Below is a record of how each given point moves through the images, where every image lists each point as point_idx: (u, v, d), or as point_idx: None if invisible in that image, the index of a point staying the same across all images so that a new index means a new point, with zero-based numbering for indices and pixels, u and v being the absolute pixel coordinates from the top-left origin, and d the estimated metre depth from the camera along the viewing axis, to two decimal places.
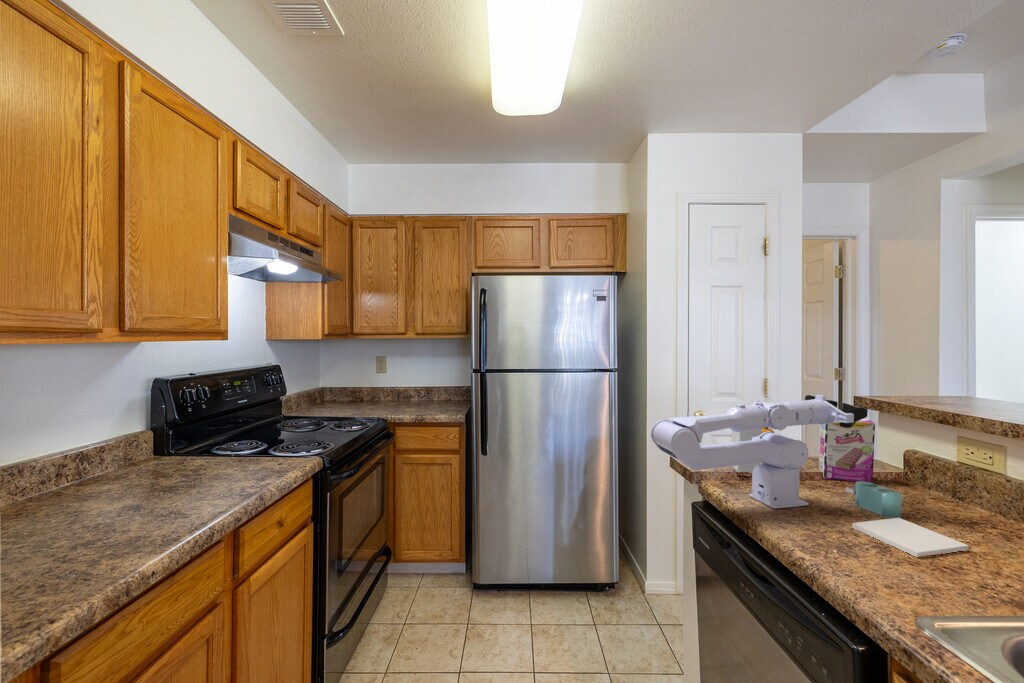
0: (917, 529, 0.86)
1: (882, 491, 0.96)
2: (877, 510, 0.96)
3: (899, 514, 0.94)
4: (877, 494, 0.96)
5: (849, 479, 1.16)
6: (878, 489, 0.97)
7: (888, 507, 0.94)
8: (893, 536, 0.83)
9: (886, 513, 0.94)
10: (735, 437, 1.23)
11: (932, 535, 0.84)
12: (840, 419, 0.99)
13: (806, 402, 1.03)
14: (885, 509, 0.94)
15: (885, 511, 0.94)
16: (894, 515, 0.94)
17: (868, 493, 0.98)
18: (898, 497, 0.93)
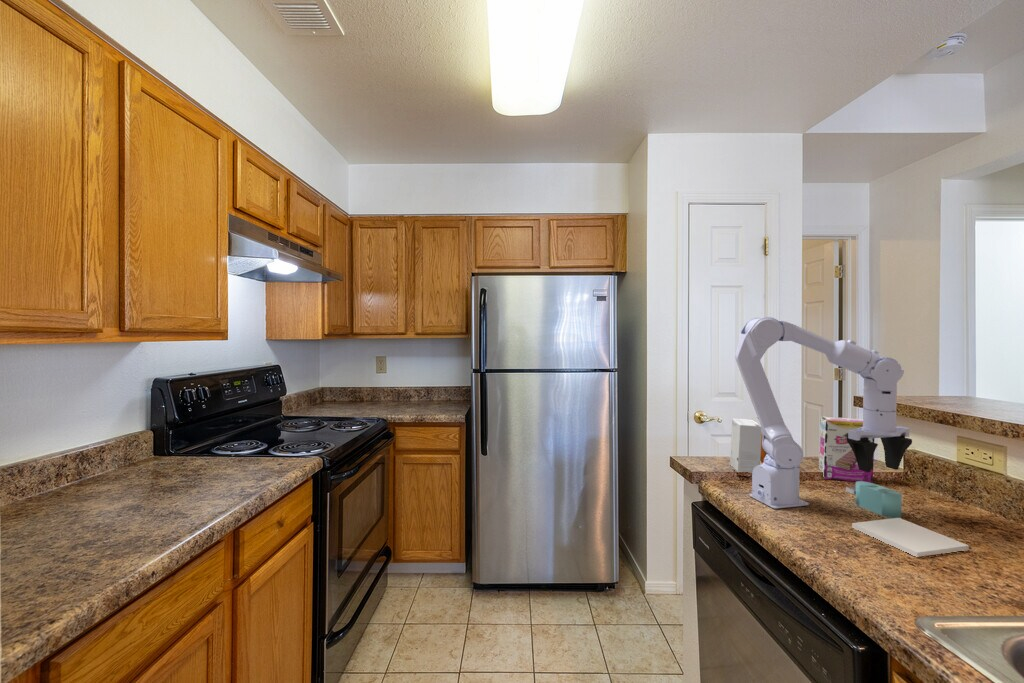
0: (917, 529, 0.86)
1: (882, 491, 0.96)
2: (877, 510, 0.96)
3: (899, 514, 0.94)
4: (877, 494, 0.96)
5: (849, 479, 1.16)
6: (878, 489, 0.97)
7: (888, 507, 0.94)
8: (893, 536, 0.83)
9: (886, 513, 0.94)
10: (734, 437, 1.23)
11: (932, 535, 0.84)
12: None
13: (888, 412, 0.94)
14: (885, 509, 0.94)
15: (885, 511, 0.94)
16: (894, 515, 0.94)
17: (868, 493, 0.98)
18: (898, 497, 0.93)
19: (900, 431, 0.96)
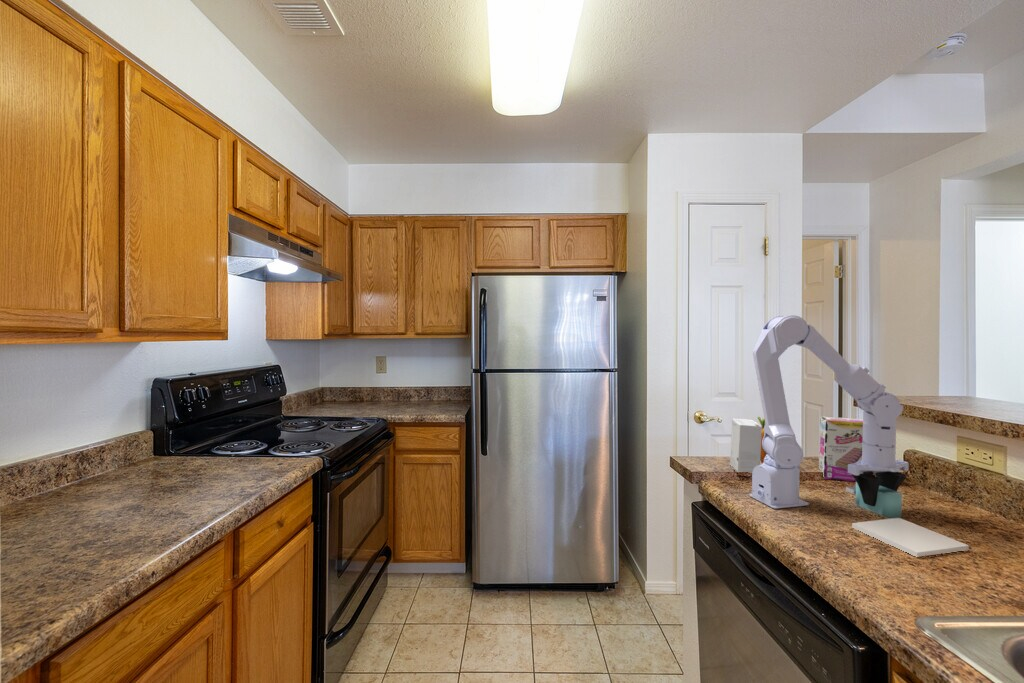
0: (917, 529, 0.86)
1: (882, 491, 0.96)
2: (877, 510, 0.96)
3: (899, 514, 0.94)
4: (877, 494, 0.96)
5: (849, 479, 1.16)
6: (878, 489, 0.97)
7: (888, 507, 0.94)
8: (893, 536, 0.83)
9: (886, 513, 0.94)
10: (734, 437, 1.23)
11: (932, 535, 0.84)
12: None
13: (887, 447, 0.95)
14: (885, 509, 0.94)
15: (885, 511, 0.94)
16: (894, 515, 0.94)
17: None
18: (898, 497, 0.93)
19: (899, 466, 0.96)
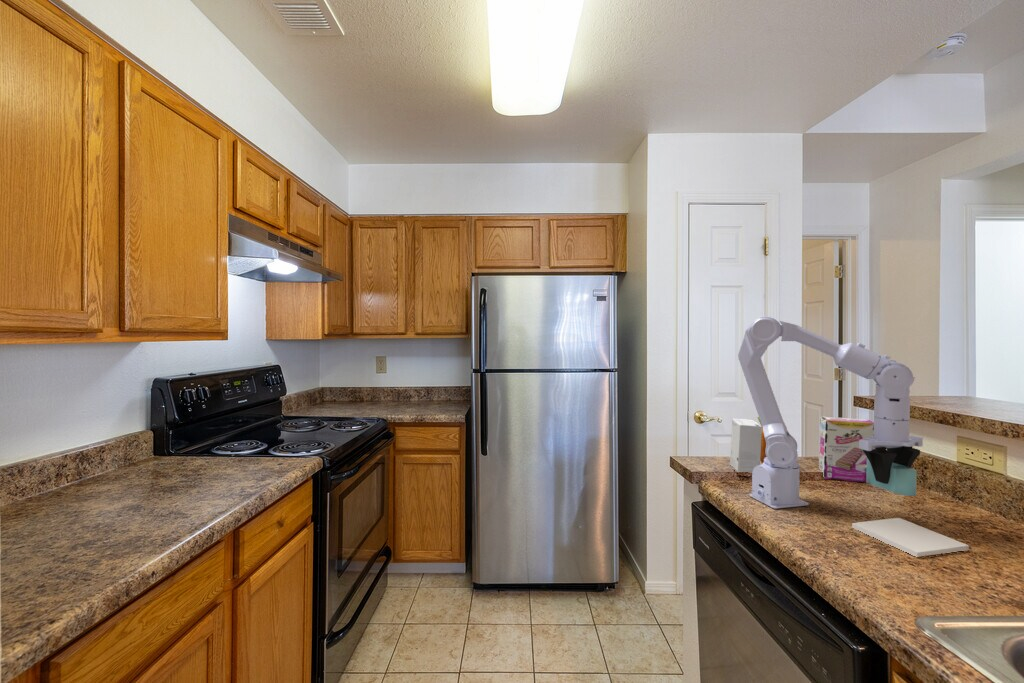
0: (917, 529, 0.86)
1: (895, 467, 0.90)
2: (890, 488, 0.90)
3: (914, 491, 0.88)
4: (890, 471, 0.90)
5: (849, 479, 1.16)
6: (891, 466, 0.91)
7: (902, 484, 0.88)
8: (893, 536, 0.83)
9: (900, 490, 0.89)
10: (734, 437, 1.23)
11: (932, 535, 0.84)
12: None
13: (901, 420, 0.89)
14: (899, 486, 0.89)
15: (899, 488, 0.89)
16: (909, 492, 0.88)
17: None
18: (913, 473, 0.88)
19: (913, 441, 0.91)
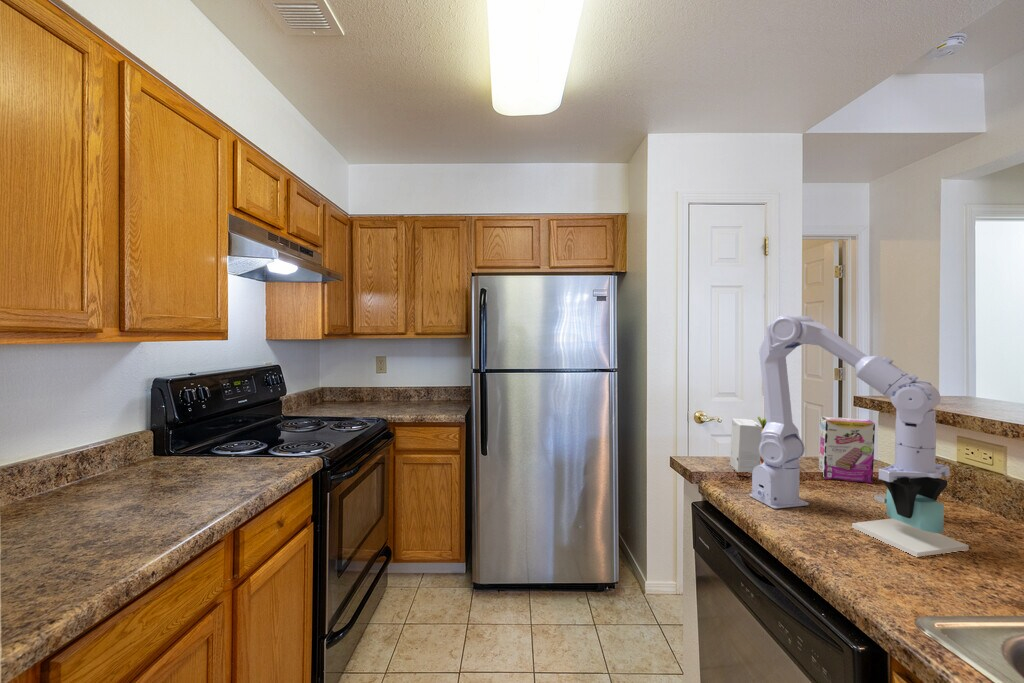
0: (917, 529, 0.86)
1: (919, 501, 0.81)
2: (914, 523, 0.81)
3: (941, 528, 0.79)
4: (914, 504, 0.81)
5: (849, 479, 1.16)
6: None
7: (928, 519, 0.80)
8: (893, 536, 0.83)
9: (925, 526, 0.80)
10: (734, 437, 1.23)
11: (932, 535, 0.84)
12: None
13: (926, 449, 0.80)
14: (924, 522, 0.80)
15: (924, 524, 0.80)
16: (935, 529, 0.79)
17: None
18: (940, 508, 0.79)
19: (940, 471, 0.82)
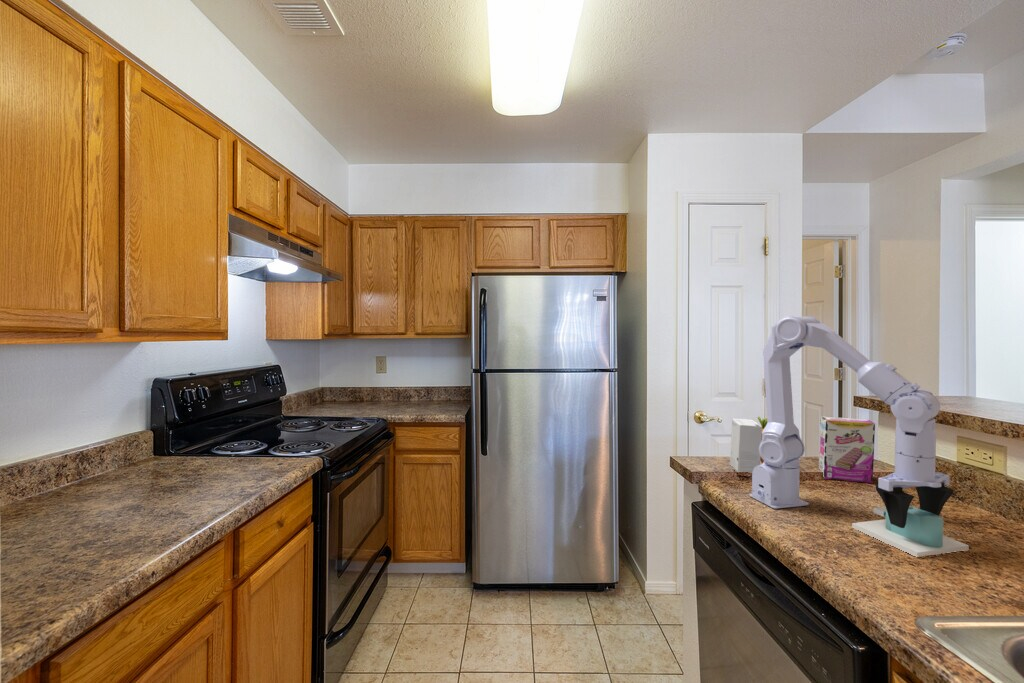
0: None
1: (919, 515, 0.81)
2: (913, 537, 0.82)
3: (940, 542, 0.79)
4: (913, 518, 0.82)
5: (849, 479, 1.16)
6: (914, 512, 0.83)
7: (927, 534, 0.80)
8: (893, 536, 0.83)
9: (925, 541, 0.80)
10: (734, 437, 1.23)
11: None
12: None
13: (926, 458, 0.80)
14: (924, 536, 0.80)
15: (924, 539, 0.80)
16: (935, 544, 0.79)
17: None
18: (940, 522, 0.79)
19: (939, 480, 0.82)
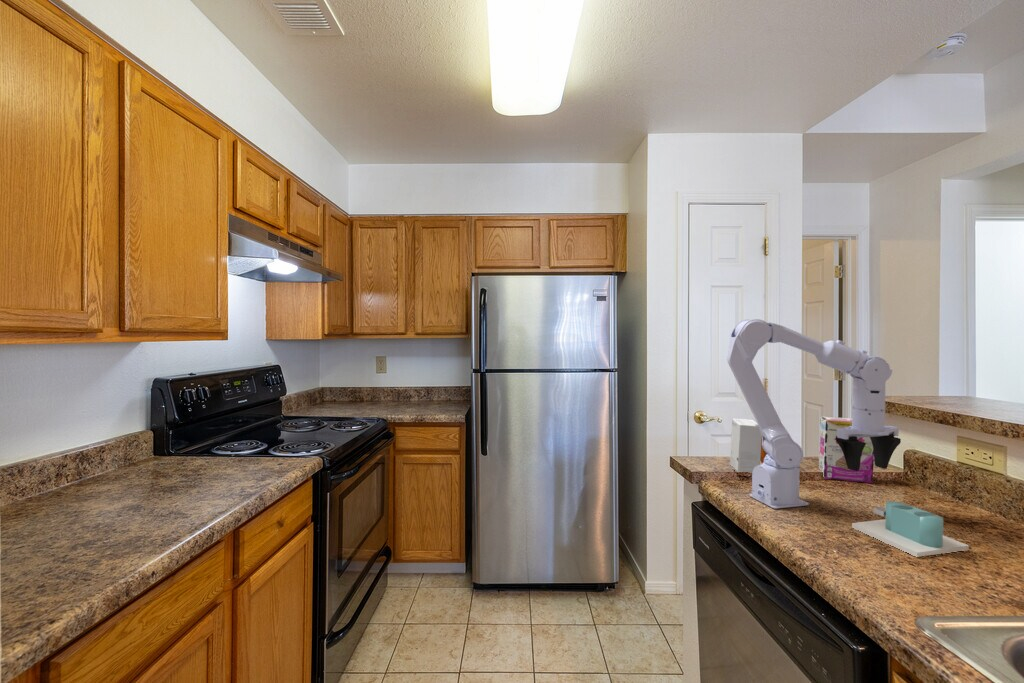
0: None
1: (919, 515, 0.81)
2: (913, 537, 0.82)
3: (940, 542, 0.79)
4: (913, 518, 0.82)
5: (849, 479, 1.16)
6: (914, 512, 0.83)
7: (927, 534, 0.80)
8: (893, 536, 0.83)
9: (925, 541, 0.80)
10: (734, 437, 1.23)
11: None
12: None
13: (876, 411, 0.95)
14: (924, 536, 0.80)
15: (924, 539, 0.80)
16: (935, 544, 0.79)
17: (902, 516, 0.83)
18: (940, 522, 0.79)
19: (889, 430, 0.96)
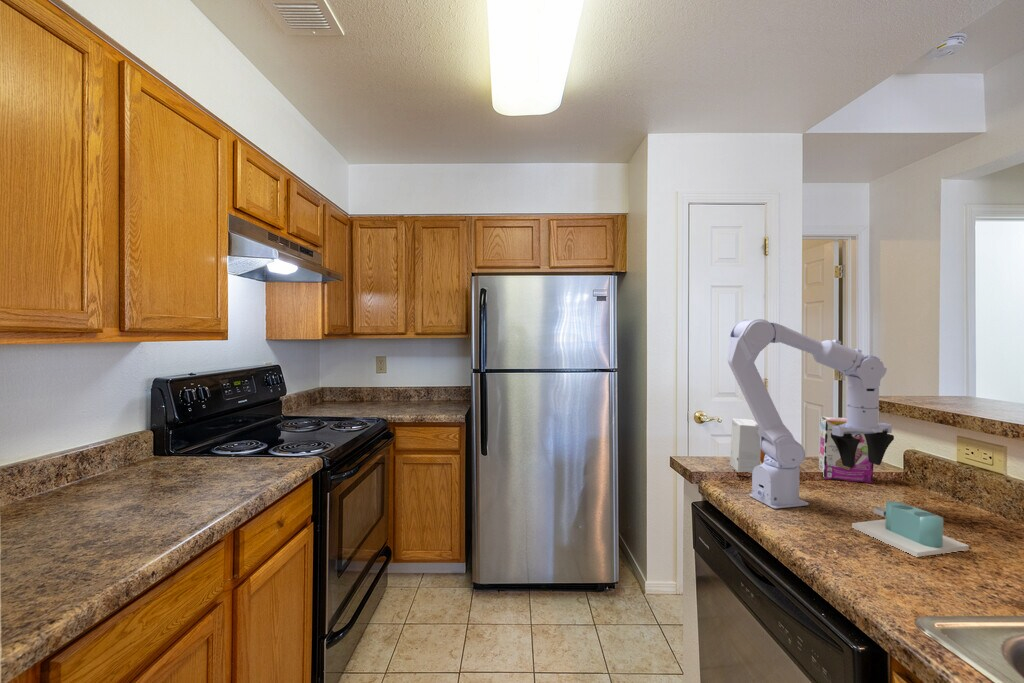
0: None
1: (919, 515, 0.81)
2: (913, 537, 0.82)
3: (940, 542, 0.79)
4: (913, 518, 0.82)
5: (849, 479, 1.16)
6: (914, 512, 0.83)
7: (927, 534, 0.80)
8: (893, 536, 0.83)
9: (925, 541, 0.80)
10: (734, 437, 1.23)
11: None
12: None
13: (870, 408, 0.97)
14: (924, 536, 0.80)
15: (924, 539, 0.80)
16: (935, 544, 0.79)
17: (902, 516, 0.83)
18: (940, 522, 0.79)
19: (882, 427, 0.99)
